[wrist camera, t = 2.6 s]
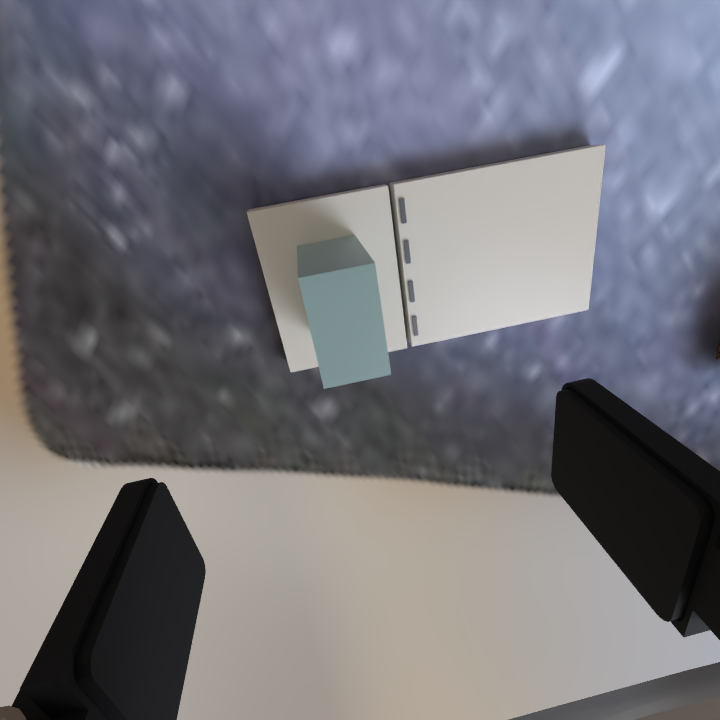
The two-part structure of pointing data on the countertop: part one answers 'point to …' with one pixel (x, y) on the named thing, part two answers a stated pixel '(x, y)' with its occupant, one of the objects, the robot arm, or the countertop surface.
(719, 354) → the dragon fruit
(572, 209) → the ticket
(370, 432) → the countertop surface
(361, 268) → the stub
